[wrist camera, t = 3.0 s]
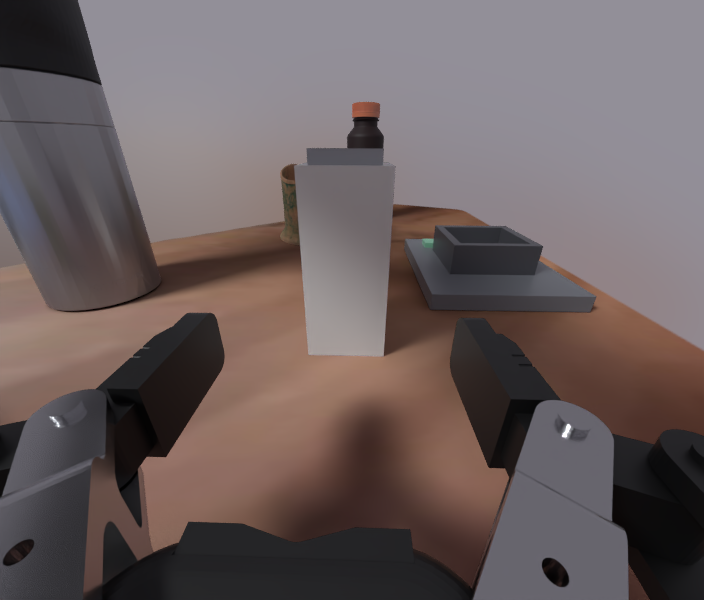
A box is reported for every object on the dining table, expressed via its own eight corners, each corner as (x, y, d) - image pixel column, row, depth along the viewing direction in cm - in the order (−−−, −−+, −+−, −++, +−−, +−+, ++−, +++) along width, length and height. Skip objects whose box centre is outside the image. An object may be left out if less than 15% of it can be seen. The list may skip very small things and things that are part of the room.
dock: (590, 312, 26) (609, 263, 24) (430, 309, 27) (436, 261, 25) (503, 250, 42) (511, 218, 40) (404, 249, 43) (407, 217, 41)
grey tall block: (308, 355, 21) (292, 148, 15) (318, 317, 25) (308, 148, 20) (383, 356, 21) (396, 148, 15) (379, 318, 25) (388, 148, 20)
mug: (343, 261, 38) (342, 157, 33) (266, 236, 49) (255, 155, 44) (395, 242, 46) (401, 156, 41) (319, 225, 57) (315, 154, 51)
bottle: (341, 219, 61) (339, 102, 52) (357, 213, 67) (358, 107, 58) (370, 222, 58) (374, 100, 49) (385, 216, 63) (391, 104, 54)
